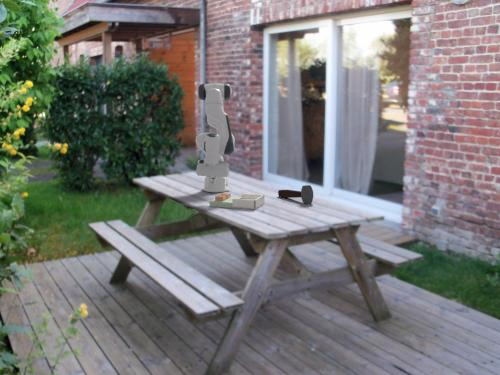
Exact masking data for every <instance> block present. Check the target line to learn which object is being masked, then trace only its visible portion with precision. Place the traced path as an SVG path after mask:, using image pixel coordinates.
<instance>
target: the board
mask: <svg viewBox="0 0 500 375" xmlns="http://www.w3.org/2000/svg"><path fill="white" fill-rule="evenodd" d="M233 198H234V199H242V196H240V197H239V196H231V197H230V198H228V199H226V200H225V201H215V198H213V199H211V200H209V207H214V208H227V209H229V208H230V209H233V208H232V199H233Z"/></svg>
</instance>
